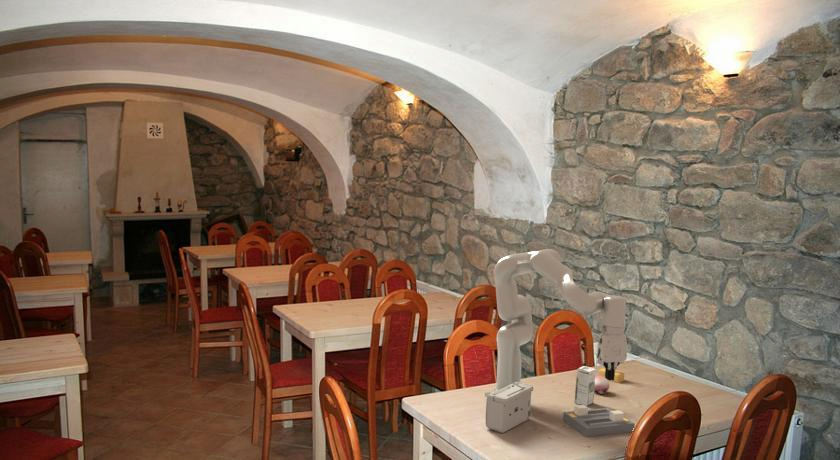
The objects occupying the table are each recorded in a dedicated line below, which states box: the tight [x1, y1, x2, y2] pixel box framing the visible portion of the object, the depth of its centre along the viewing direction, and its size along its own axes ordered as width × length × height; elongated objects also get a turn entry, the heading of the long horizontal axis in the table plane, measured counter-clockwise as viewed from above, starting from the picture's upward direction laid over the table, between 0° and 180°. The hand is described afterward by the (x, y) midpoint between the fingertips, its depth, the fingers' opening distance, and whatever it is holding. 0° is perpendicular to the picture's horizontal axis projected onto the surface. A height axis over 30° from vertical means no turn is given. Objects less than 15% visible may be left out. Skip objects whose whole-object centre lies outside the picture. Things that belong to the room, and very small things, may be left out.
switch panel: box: [562, 407, 635, 438], centre depth 243 cm, size 20×16×4 cm
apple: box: [594, 374, 610, 395], centre depth 280 cm, size 8×8×7 cm
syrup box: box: [574, 365, 597, 407], centre depth 266 cm, size 6×6×14 cm
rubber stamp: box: [598, 367, 625, 384], centre depth 299 cm, size 10×6×12 cm, turn 44°
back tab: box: [573, 404, 589, 416], centre depth 245 cm, size 4×3×3 cm
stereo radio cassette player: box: [485, 378, 534, 434], centre depth 241 cm, size 21×8×20 cm, turn 141°
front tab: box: [609, 410, 625, 421], centre depth 241 cm, size 4×3×3 cm
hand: (609, 379), depth 238 cm, fingers closed
